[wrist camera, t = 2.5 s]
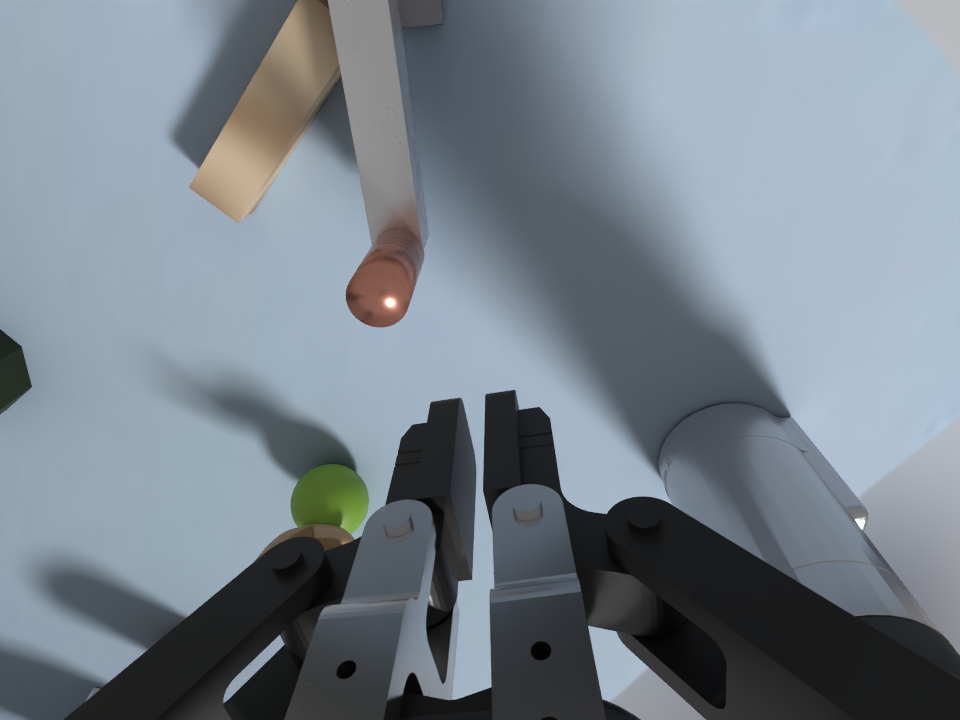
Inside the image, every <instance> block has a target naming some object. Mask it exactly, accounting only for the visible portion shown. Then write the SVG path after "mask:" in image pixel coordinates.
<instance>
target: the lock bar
mask: <svg viewBox="0 0 960 720" xmlns="http://www.w3.org/2000/svg"><path fill="white" fill-rule="evenodd" d="M328 5H329V10H330V16H331V21H332V27H333V32H334V38H335V43H336V49H337V54H338V60H339V65H340V71H341V76H342V82H343V87H344V93H345V99H346V104H347V110H348V115H349V121H350V126H351V132H352V137H353V143H354V148H355V154H356V159H357V165H358V170H359V176H360V181H361V187H362V192H363V198H364V204H365V209H366V215H367V220H368V226H369V231H370V237H371V242H372V246H371V248H370V250H369V251H368V253H367V254H366V256H365V258H364V259H363V261H362V263H361V264H360V266H359V267H358V269H357V271H356V272H355V274H354V275H353V277H352V279H351V280H350V282H349V284H348V286H347V289H346V301H347V305H348V307H349V309H350V311H351V312H352V314H353V315H354V316H355V317H356V318H357V319H358V320H360V321H361V322H363V323H365V324H367V325H369V326H373V327H387V326H391V325H393V324H395V323H397V322H398V321H400V320H401V319H402V318H403V317H404V315H405V314H406V312H407V309H408V306H409V303H410V300H411V297H412V294H413V291H414V288H415V285H416V282H417V279H418V276H419V273H420V270H421V267H422V264H423V261H424V248H425V245H426V242H427V239H428V236H429V232H428V224H427V217H426V209H425V202H424V194H423V187H422V179H421V172H420V164H419V157H418V149H417V141H416V134H415V126H414V119H413V111H412V104H411V96H410V89H409V81H408V74H407V66H406V59H405V51H404V44H403V36H402V29H401V21H400V14H399V6H398V0H328Z"/></svg>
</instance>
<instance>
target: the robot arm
mask: <svg viewBox="0 0 960 720" xmlns="http://www.w3.org/2000/svg"><path fill="white" fill-rule="evenodd" d="M659 471H660V474H661V477H662V480H663V482H664V486H665V489H666V492H667V495H668V497H669V499H670V501H671V503H672V505H671V504H669V503H668V502H666V501H663V500H660V499H657V498H653V497H633V498H629V499H625V500H623V501H620V502H619V503H617V504H615V505H614V506H613V507H612V508H611V509H610V510H609V511H608V513H607V514H601V513H593V512H588V511H585V510H582V509H580V508H577V507H575V506H574V505H572V504H571V503H570V502H568V501H567V500H566V498H565V497H564V496H563V494H562V492H561V488H560V481H559V475H558V468H557V462H556V455H555V449H554V442H553V435H552V429H551V422H550V418H549V417H548V416H547V415H546V414H545V413H544V411H543V410H542V409H541V408H540V407H537V408H529V409H522V410H519V407H518V401H517V396H516V391H515V390H511V391H504V392H497V393H490V394H486V396H485V435H484V476H483V492H484V496H485V501H486V505H487V510H488V514H489V519H490V523H491V527H492V532H493V558H494V589H491V590H490V640H491V681H492V687H491V688H488V689H486V690H483V691H480V692H477V693H474V694H471V695H468V696H466V697H463V698H460V699H456V700H452V688H453V677H454V666H455V655H456V644H457V633H458V622H459V607H458V603H457V592H458V581H464V580H472V567H473V542H474V518H475V494H476V462H475V454H474V449H473V444H472V440H471V436H470V431H469V427H468V422H467V418H466V413H465V409H464V405H463V402H462V399H461V398H455V399H448V400H441V401H434V402H431V404H430V409H429V415H428V420H427V423H422V424H414V425H412V426H411V427H410V428H409V430H408V431H407V432H406V433H405V435H404V436H403V437H402V438H401V442H400V446H399V450H398V456H397V458H396V463H395V467H394V471H393V475H392V479H391V484H390V488H389V492H388V496H387V500H386V505H385V506H383V507H381V508H380V509H379V510H377V511H376V512H375V513H374V514H372V516H371V517H370V518H369V519H368V521H367V522H366V525H365V527H364V530H363V534H362V536H361V537H359V538H358V539H356V540H353V541H351V542H349V543H346V544H343V545H340V546H338V547H335V548H332V549H330V550H327V551H325V549H324V547H323V545H322V543H321V542H320V541H318V540H317V539H315V538H312V537H304V536H302V537H295V538H291V539H288V540H285V541H283V542H281V543H279V544H277V545H275V546H274V547H272V548H271V549H269V550H268V551H267V552H266V553H264V554H263V555H262V556H261V557H260V558H258V559H257V560H256V561H255V562H254V563H252V564H251V565H250V566H249V567H248V568H246V569H245V570H244V571H243V572H241V573H240V574H239V575H238V576H237V577H235V578H234V579H233V580H232V581H231V582H229V583H228V584H227V585H226V586H225V587H223V588H222V589H221V590H220V591H219V592H217V593H216V594H215V595H214V596H212V597H211V598H210V599H209V600H208V601H206V602H205V603H204V604H203V605H202V606H200V607H199V608H198V609H197V610H196V611H194V612H193V613H192V614H191V615H190V616H188V617H187V618H186V619H185V620H183V621H182V622H181V623H180V624H179V625H177V626H176V627H175V628H174V629H173V630H171V631H170V632H169V633H168V634H167V635H165V636H164V637H163V638H162V639H161V640H159V641H158V642H157V643H156V644H155V645H153V646H152V647H151V648H150V649H148V650H147V651H146V652H145V653H144V654H142V655H141V656H140V657H139V658H138V659H136V660H135V661H134V662H133V663H132V664H130V665H129V666H128V667H127V668H126V669H124V670H123V671H122V672H121V673H119V674H118V675H117V676H116V677H115V678H113V679H112V680H111V681H110V682H109V683H107V684H106V685H105V686H104V687H103V688H101V689H100V690H99V691H98V692H97V693H95V694H94V695H93V696H92V697H90V698H89V699H88V700H87V701H86V702H84V703H83V704H82V705H81V706H80V707H78V708H77V709H76V710H75V711H74V712H72V713H71V714H70V715H69V716H68V717H66V718H65V719H64V720H640V719H639V718H637V717H636V716H635V715H633V714H631V713H630V712H628V711H626V710H625V709H623V708H621V707H619V706H617V705H615V704H613V703H610V702H608V701H605V700H602V696H601V691H600V686H599V680H598V675H597V670H596V665H595V660H594V655H593V650H592V644H591V639H590V634H589V629H588V626H593V627H598V628H603V629H608V630H613V631H617V634H618V636H619V638H620V640H621V641H622V643H623V644H624V645H625V646H626V647H627V648H628V649H629V650H630V651H632V652H633V653H634V654H635V655H636V656H637V657H638V658H639V659H640V660H641V661H643V662H644V663H645V664H646V665H647V666H648V667H649V668H650V669H651V670H652V671H654V672H655V673H656V674H657V675H658V676H659V677H660V678H661V679H662V680H663V681H664V682H666V683H667V684H668V685H669V686H670V687H671V688H672V689H673V690H674V691H676V692H677V693H678V694H679V695H680V696H681V697H682V698H683V699H684V700H685V701H686V702H688V703H689V704H690V705H691V706H692V707H693V708H694V709H695V710H696V711H697V712H699V713H700V714H701V715H702V716H703V717H704V718H705V719H706V720H960V655H959V654H958V653H957V652H956V650H955V649H954V648H953V646H952V645H951V644H950V643H949V641H948V640H947V639H946V638H945V637H944V636H943V634H942V633H941V632H940V630H939V629H938V628H937V627H936V625H935V624H934V623H933V621H932V620H931V619H930V617H929V616H928V615H927V614H926V612H925V611H924V610H923V608H922V607H921V606H920V605H919V603H918V602H917V600H916V599H915V598H914V597H913V595H912V594H911V593H910V591H909V590H908V589H907V587H906V586H905V585H904V584H903V582H902V581H901V580H900V579H899V577H898V576H897V575H896V573H895V572H894V571H893V569H892V568H891V567H890V565H889V564H888V563H887V561H886V560H885V559H884V557H883V556H882V555H881V553H880V552H879V551H878V550H877V548H876V547H875V546H874V544H873V543H872V542H871V540H870V539H869V538H868V536H867V535H866V534H865V532H864V530H865V526H866V523H867V519H868V513H867V510H866V508H865V507H864V505H863V504H862V503H861V502H860V500H859V499H858V498H857V497H856V495H855V494H854V493H853V492H852V490H851V489H850V488H849V487H848V486H847V484H846V483H845V482H844V481H843V479H842V478H841V477H840V476H839V474H838V473H837V472H836V471H835V469H834V468H833V467H832V466H831V465H830V463H829V462H828V461H827V460H826V458H825V457H824V456H823V455H822V453H821V452H820V451H819V450H818V448H817V447H816V446H815V445H814V444H813V442H812V441H811V440H810V439H809V437H808V436H807V435H806V434H805V432H804V431H803V430H802V429H801V428H800V426H799V425H798V424H797V423H796V421H795V420H794V419H793V418H791V417H787V418H780V417H776V416H774V415H772V414H771V413H769V412H767V411H766V410H764V409H762V408H759V407H756V406H753V405H749V404H741V403H729V404H720V405H716V406H711V407H708V408H705V409H703V410H700V411H698V412H696V413H694V414H692V415H691V416H689V417H687V418H686V419H684V420H683V421H682V422H681V423H679V424H678V425H677V426H676V427H675V428H674V429H673V430H672V431H671V433H670V434H669V435H668V437H667V438H666V439H665V441H664V444H663V446H662V448H661V450H660V455H659ZM279 635H280V636H281V638H282V640H283V642H284V644H285V645H284V646H283V647H282V648H281V649H280V650H279V651H278V652H277V653H276V654H275V655H274V656H273V657H272V658H271V659H270V660H269V661H268V662H266V663H265V664H264V665H263V666H262V667H261V668H260V669H259V670H258V671H257V672H256V673H255V674H254V675H253V676H252V677H251V678H250V679H249V680H248V681H247V682H246V683H245V684H244V685H243V686H242V687H241V688H240V689H239V690H238V691H237V692H236V693H235V694H234V695H233V696H232V697H231V698H230V699H229V700H227V701H226V702H225V703H223V698H224V694H225V691H226V689H227V687H228V686H229V684H230V683H231V681H232V680H233V679H234V678H235V677H236V676H237V675H238V674H239V673H240V672H241V671H242V670H243V669H244V668H245V667H246V666H247V665H248V664H250V663H251V662H252V661H253V660H254V659H255V658H256V657H257V656H258V655H259V654H260V653H261V652H262V651H263V650H264V649H265V648H266V647H267V646H268V645H269V644H270V643H271V642H272V641H274V640H275V639H276V638H277V637H278V636H279Z"/></svg>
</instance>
